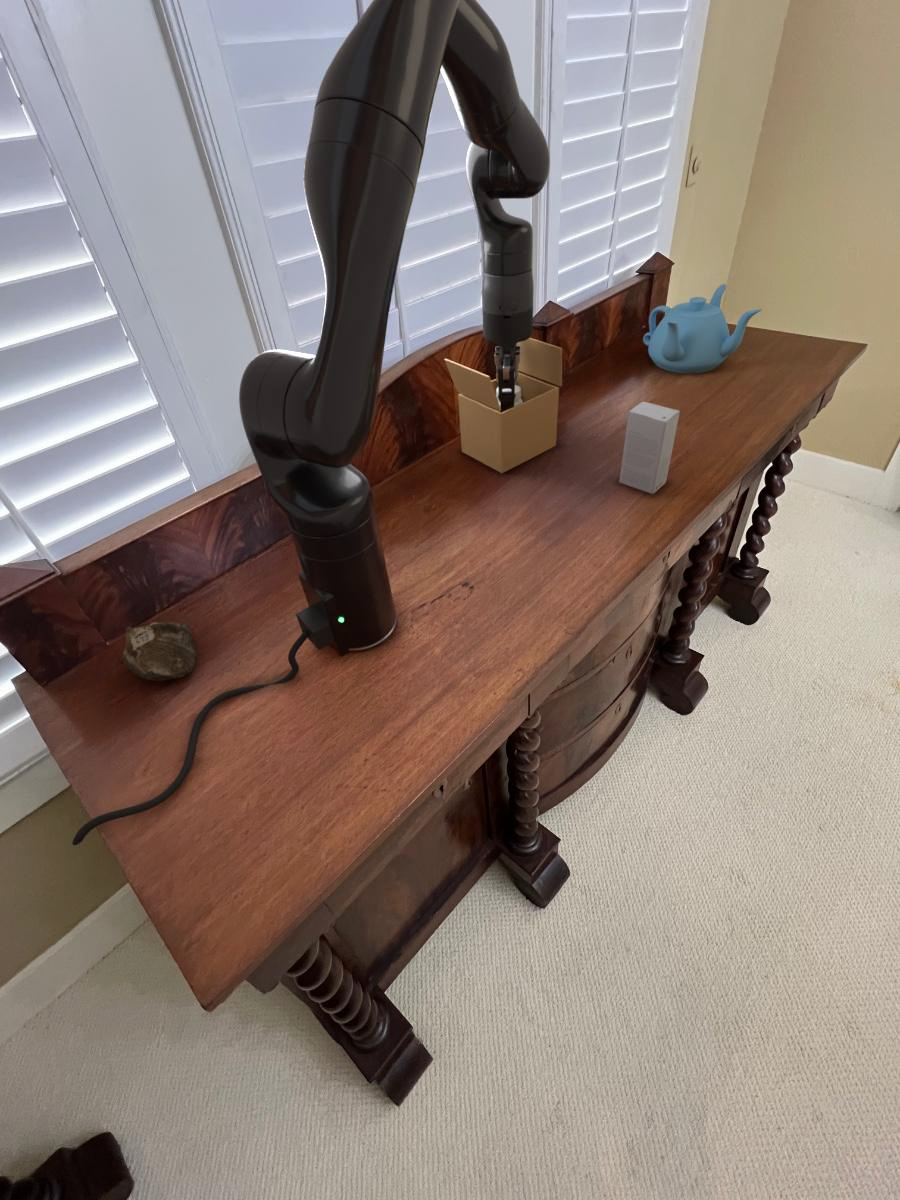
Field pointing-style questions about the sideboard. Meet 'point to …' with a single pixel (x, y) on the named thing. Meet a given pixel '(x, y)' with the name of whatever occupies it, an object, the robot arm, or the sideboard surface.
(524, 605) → the sideboard surface
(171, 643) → the fossilized seashell
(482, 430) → the carton
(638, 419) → the cosmetic box
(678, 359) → the teapot
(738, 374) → the sideboard surface
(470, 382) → the flap
